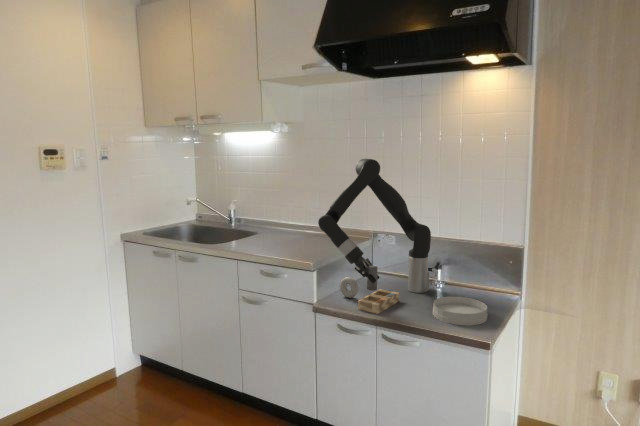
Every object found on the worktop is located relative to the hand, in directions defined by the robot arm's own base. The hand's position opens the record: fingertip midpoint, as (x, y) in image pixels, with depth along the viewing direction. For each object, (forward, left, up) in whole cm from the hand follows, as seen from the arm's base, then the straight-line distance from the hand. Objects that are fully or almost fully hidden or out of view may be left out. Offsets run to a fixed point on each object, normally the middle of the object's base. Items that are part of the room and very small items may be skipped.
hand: (376, 280), depth 204 cm
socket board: (-3, -3, -13) cm, 13 cm away
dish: (-28, +21, -13) cm, 38 cm away
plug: (+1, -1, -4) cm, 4 cm away
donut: (+5, -18, -13) cm, 22 cm away
